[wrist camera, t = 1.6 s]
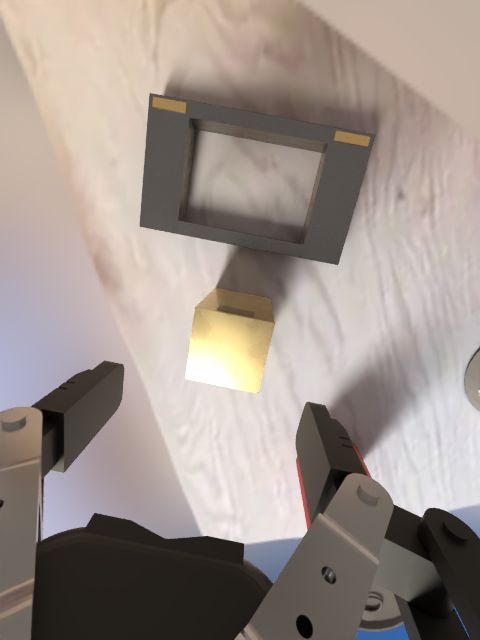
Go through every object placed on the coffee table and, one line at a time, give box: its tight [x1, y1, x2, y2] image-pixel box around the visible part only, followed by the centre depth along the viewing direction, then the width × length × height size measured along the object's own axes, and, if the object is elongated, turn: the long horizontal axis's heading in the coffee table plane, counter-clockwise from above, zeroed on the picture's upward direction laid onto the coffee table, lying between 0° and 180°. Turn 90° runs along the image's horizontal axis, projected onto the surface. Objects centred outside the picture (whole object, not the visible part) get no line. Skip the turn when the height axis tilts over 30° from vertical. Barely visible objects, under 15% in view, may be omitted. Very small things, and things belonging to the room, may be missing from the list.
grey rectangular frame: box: [140, 93, 375, 265], centre depth 21 cm, size 16×9×2 cm, turn 79°
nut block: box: [185, 288, 275, 393], centre depth 21 cm, size 5×5×8 cm
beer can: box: [296, 443, 404, 631], centre depth 22 cm, size 7×7×12 cm
